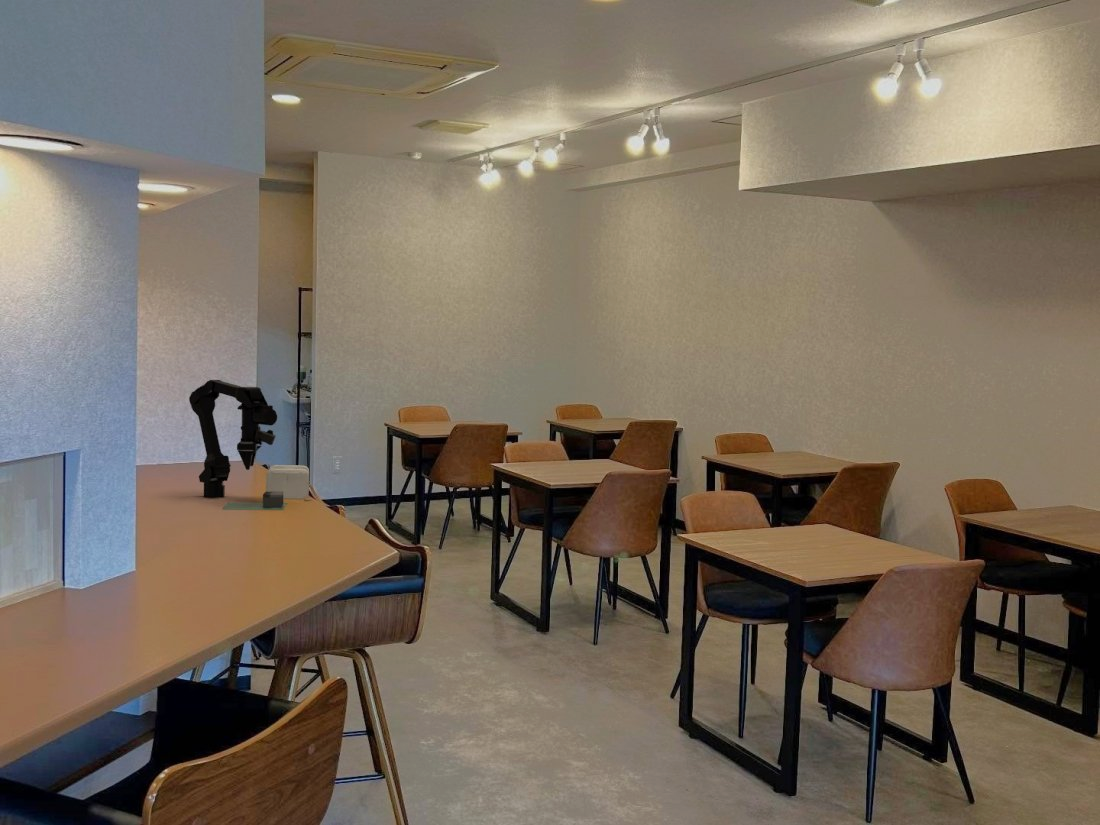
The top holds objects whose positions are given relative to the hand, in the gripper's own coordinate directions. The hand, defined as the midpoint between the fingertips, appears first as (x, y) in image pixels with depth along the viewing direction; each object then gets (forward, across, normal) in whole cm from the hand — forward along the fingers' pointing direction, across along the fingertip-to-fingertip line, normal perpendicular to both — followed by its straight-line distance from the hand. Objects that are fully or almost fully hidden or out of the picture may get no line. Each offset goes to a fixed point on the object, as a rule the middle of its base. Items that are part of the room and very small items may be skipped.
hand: (249, 467), depth 356 cm
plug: (+12, -7, -9) cm, 17 cm away
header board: (+13, -7, -3) cm, 15 cm away
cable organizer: (+13, +14, -12) cm, 23 cm away
